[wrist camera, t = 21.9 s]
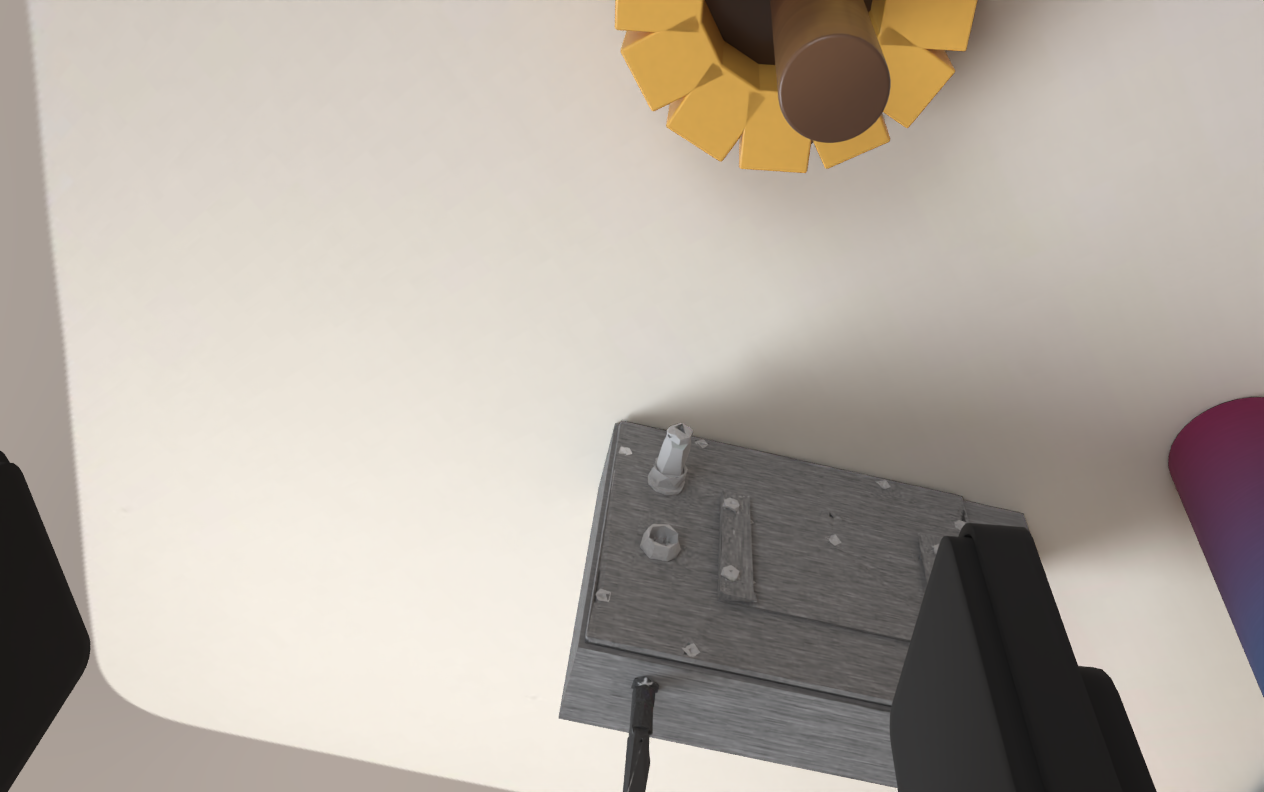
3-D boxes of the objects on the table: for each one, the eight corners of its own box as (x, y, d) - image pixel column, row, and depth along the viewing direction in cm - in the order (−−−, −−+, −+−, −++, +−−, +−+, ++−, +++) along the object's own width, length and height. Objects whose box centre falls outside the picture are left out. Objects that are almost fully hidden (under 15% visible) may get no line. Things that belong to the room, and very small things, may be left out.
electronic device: (597, 493, 43) (510, 994, 27) (630, 364, 39) (551, 860, 23) (993, 579, 44) (1141, 1115, 28) (1064, 461, 40) (1286, 1006, 24)
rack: (643, -16, 31) (606, 100, 23) (813, -219, 27) (845, -169, 19) (804, 135, 33) (826, 291, 25) (981, -35, 30) (1073, 80, 21)
